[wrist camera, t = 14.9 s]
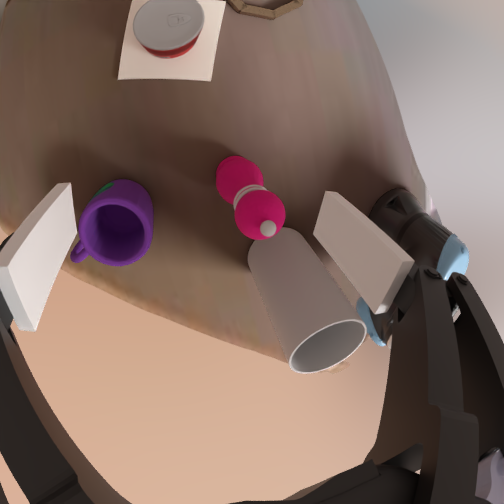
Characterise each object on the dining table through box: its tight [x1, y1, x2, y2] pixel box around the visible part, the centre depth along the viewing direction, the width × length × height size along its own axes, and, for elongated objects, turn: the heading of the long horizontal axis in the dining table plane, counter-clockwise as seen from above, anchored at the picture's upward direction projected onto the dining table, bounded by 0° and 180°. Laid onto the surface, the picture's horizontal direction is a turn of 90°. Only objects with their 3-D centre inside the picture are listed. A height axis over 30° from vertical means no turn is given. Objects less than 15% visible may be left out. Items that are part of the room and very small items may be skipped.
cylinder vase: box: [248, 227, 367, 373], centre depth 47 cm, size 12×12×25 cm
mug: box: [70, 179, 154, 266], centre depth 39 cm, size 17×11×10 cm, turn 116°
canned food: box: [133, 0, 204, 59], centre depth 24 cm, size 8×8×11 cm
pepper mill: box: [216, 156, 285, 240], centre depth 37 cm, size 7×7×20 cm
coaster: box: [118, 0, 226, 81], centre depth 29 cm, size 14×14×1 cm
